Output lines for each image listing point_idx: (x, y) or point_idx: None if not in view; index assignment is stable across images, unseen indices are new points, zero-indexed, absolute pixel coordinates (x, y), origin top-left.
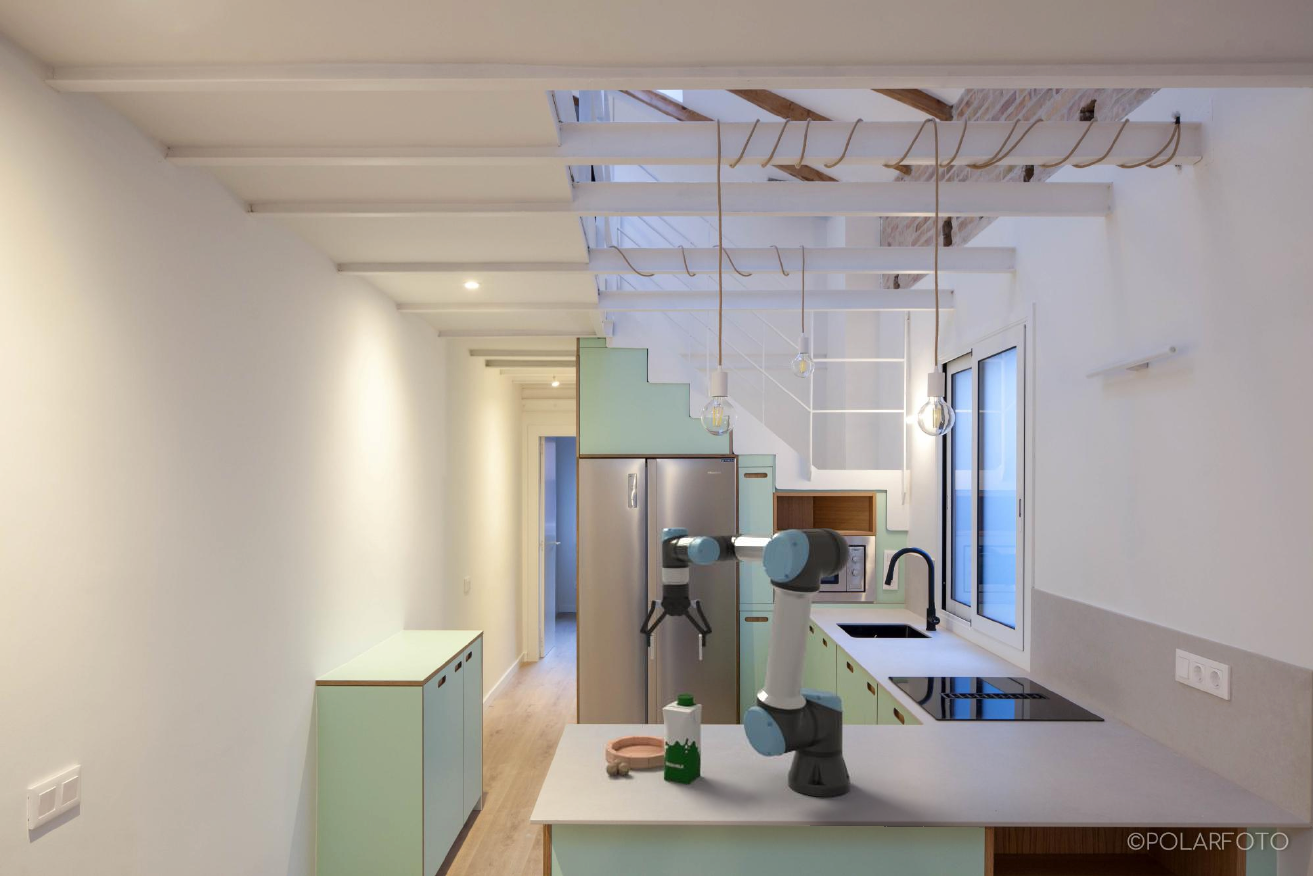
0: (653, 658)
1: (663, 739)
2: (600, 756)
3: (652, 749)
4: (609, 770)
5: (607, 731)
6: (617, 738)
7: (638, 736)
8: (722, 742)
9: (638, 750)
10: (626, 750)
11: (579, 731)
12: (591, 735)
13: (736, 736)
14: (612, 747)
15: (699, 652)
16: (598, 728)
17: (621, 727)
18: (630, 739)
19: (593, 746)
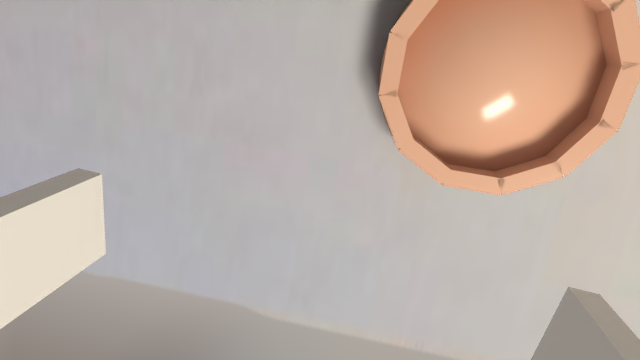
0: (558, 316)
1: (405, 139)
2: None
3: (445, 113)
4: None
5: (537, 321)
6: (565, 172)
7: (484, 181)
8: (229, 175)
9: (494, 109)
10: (535, 114)
11: None
12: None
13: (190, 215)
14: (592, 119)
15: (33, 199)
16: None
17: (486, 343)
18: (513, 172)
19: (622, 203)
